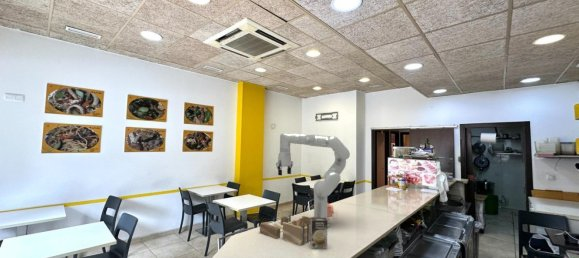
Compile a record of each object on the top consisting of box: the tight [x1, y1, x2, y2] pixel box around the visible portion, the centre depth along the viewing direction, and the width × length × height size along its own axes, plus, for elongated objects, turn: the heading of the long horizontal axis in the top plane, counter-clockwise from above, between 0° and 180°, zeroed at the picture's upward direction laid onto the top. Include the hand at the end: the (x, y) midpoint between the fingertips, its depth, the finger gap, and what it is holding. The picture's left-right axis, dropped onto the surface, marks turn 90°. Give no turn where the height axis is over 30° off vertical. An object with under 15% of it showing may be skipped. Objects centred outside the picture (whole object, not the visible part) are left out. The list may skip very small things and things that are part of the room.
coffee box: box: [309, 216, 329, 250], centre depth 139 cm, size 9×6×16 cm
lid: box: [271, 216, 289, 234], centre depth 168 cm, size 17×13×6 cm
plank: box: [259, 222, 281, 240], centre depth 155 cm, size 3×16×6 cm, turn 49°
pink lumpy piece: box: [327, 202, 334, 217], centre depth 204 cm, size 18×10×10 cm, turn 173°
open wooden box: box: [282, 214, 312, 247], centre depth 152 cm, size 20×15×13 cm
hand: (284, 174), depth 173 cm, fingers open, 9 cm apart
